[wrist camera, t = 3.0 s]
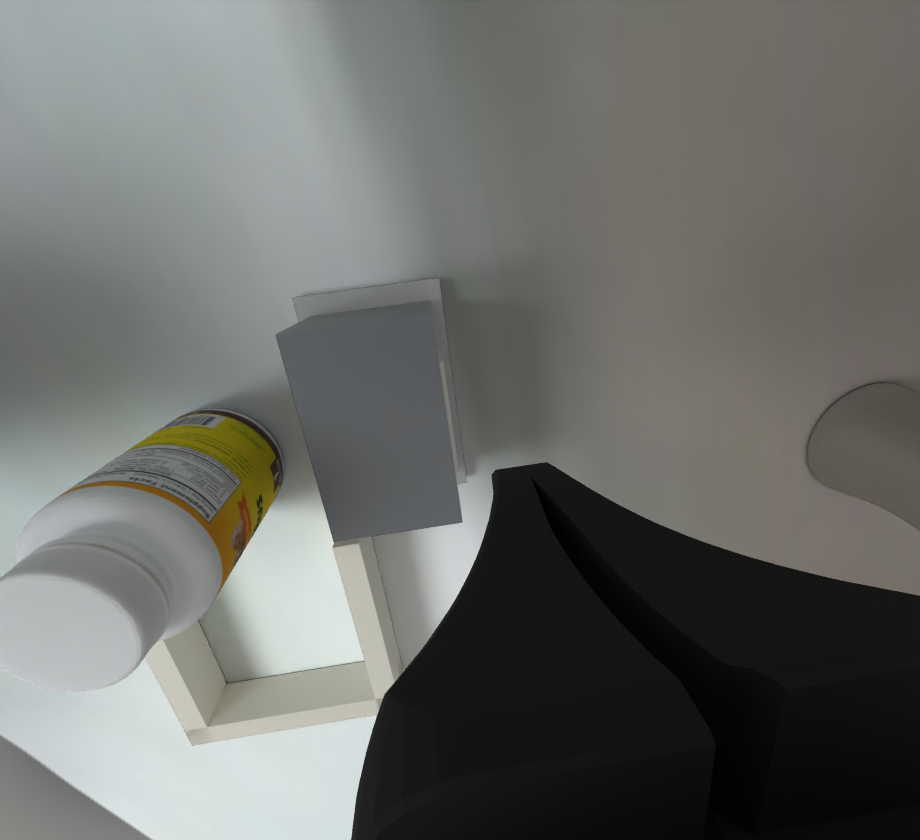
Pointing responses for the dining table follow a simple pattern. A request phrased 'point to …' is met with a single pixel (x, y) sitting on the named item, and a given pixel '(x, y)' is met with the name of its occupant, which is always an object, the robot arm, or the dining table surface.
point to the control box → (377, 407)
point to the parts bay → (290, 695)
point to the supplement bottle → (135, 551)
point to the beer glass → (872, 448)
